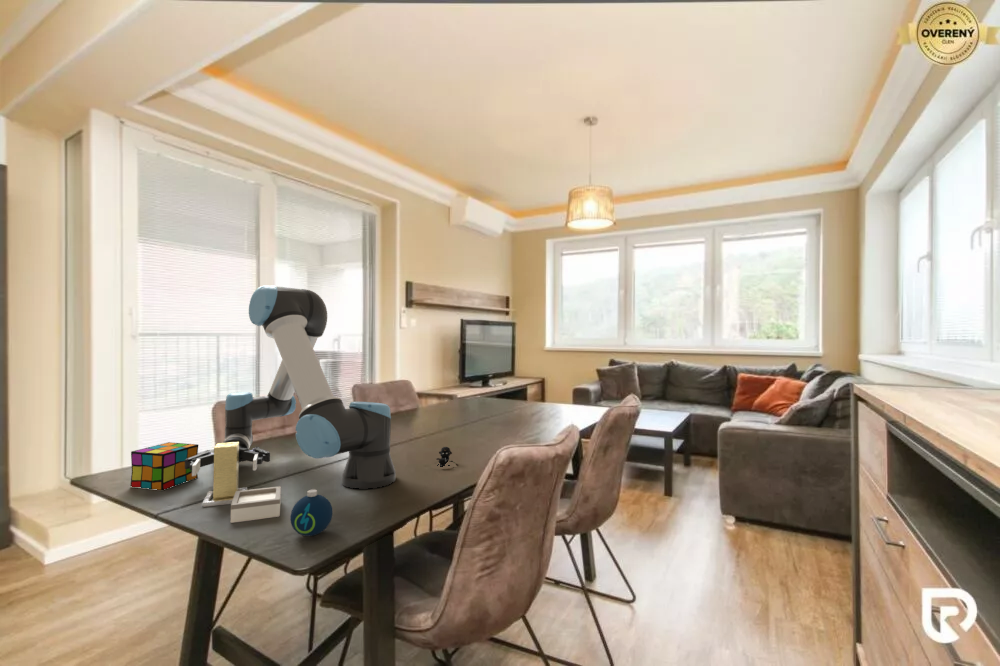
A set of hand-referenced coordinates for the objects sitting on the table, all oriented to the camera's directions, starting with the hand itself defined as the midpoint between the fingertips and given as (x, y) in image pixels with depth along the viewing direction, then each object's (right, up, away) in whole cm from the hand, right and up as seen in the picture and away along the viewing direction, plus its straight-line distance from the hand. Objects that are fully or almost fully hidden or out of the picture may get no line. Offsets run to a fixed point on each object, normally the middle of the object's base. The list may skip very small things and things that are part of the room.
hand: (224, 467), depth 118 cm
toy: (-24, -8, +11) cm, 28 cm away
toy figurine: (+53, -9, +33) cm, 63 cm away
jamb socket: (0, -8, 0) cm, 8 cm away
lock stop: (0, -8, 0) cm, 8 cm away
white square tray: (+13, -8, -8) cm, 17 cm away
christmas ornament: (+31, -8, -20) cm, 38 cm away
